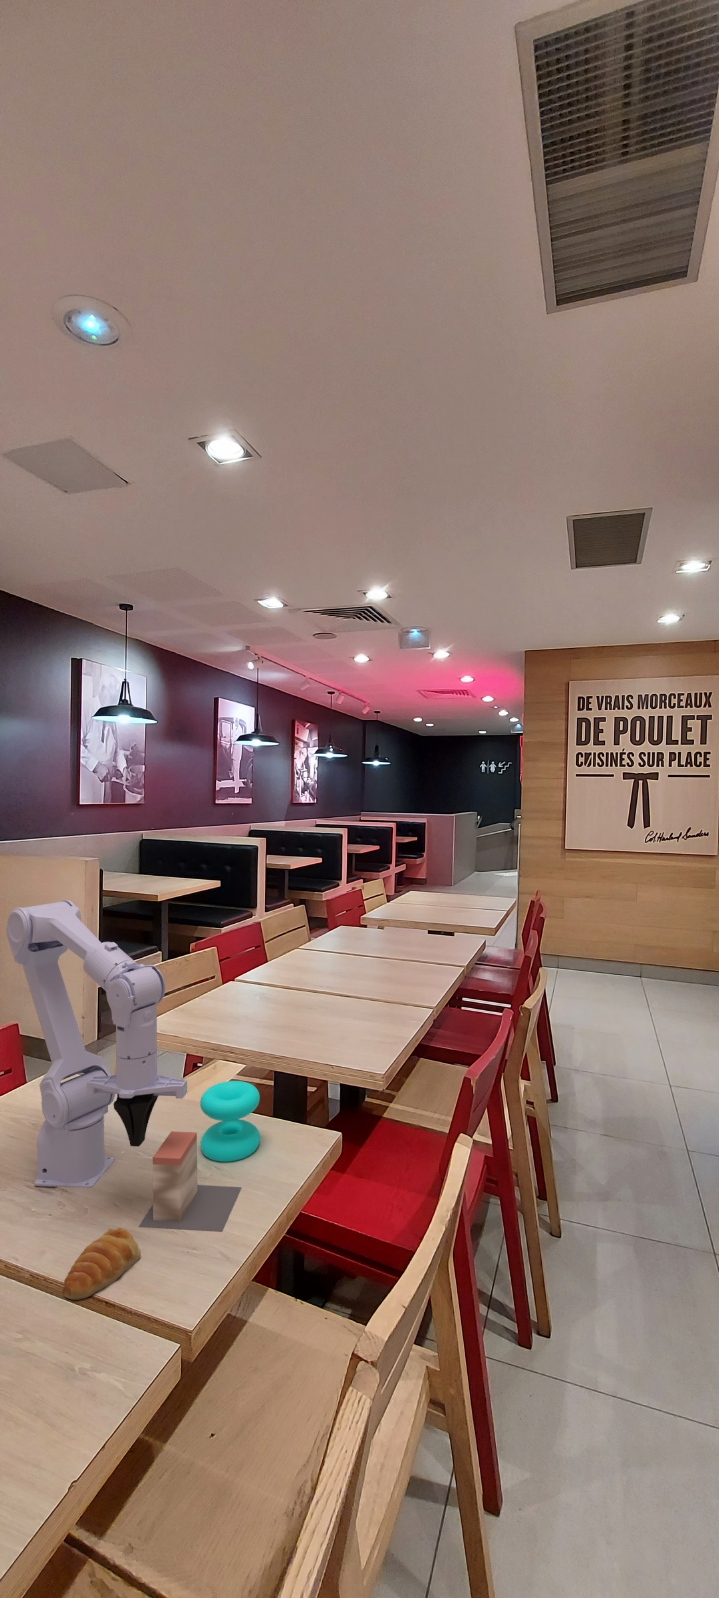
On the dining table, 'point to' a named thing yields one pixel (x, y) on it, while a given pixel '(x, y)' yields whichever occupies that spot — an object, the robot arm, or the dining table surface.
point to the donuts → (230, 1121)
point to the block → (174, 1176)
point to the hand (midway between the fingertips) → (137, 1142)
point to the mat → (201, 1210)
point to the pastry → (101, 1264)
